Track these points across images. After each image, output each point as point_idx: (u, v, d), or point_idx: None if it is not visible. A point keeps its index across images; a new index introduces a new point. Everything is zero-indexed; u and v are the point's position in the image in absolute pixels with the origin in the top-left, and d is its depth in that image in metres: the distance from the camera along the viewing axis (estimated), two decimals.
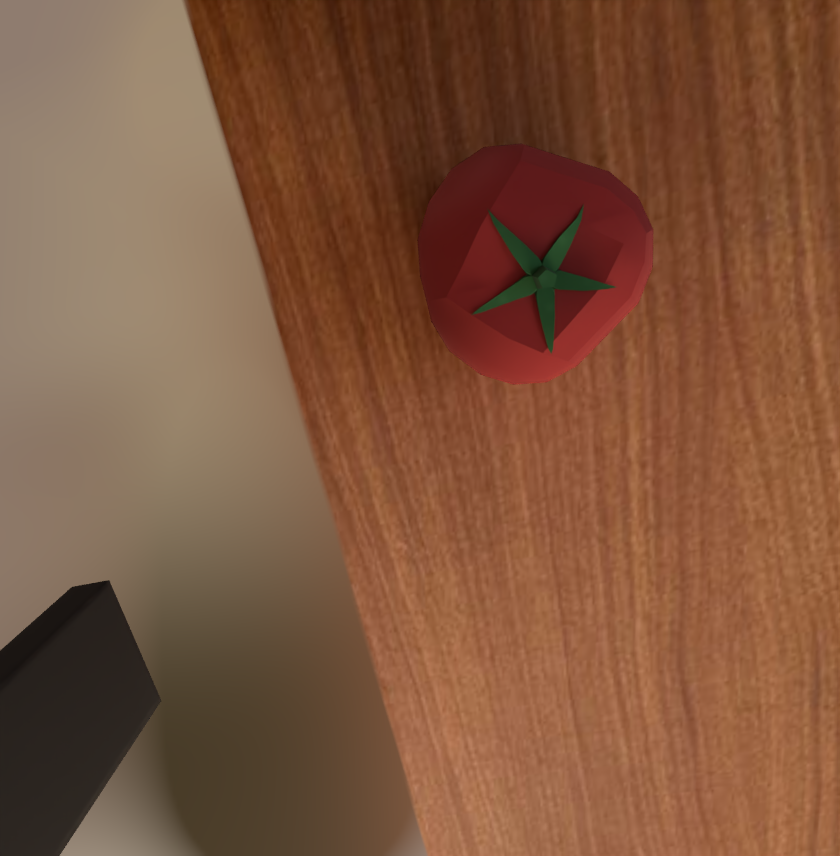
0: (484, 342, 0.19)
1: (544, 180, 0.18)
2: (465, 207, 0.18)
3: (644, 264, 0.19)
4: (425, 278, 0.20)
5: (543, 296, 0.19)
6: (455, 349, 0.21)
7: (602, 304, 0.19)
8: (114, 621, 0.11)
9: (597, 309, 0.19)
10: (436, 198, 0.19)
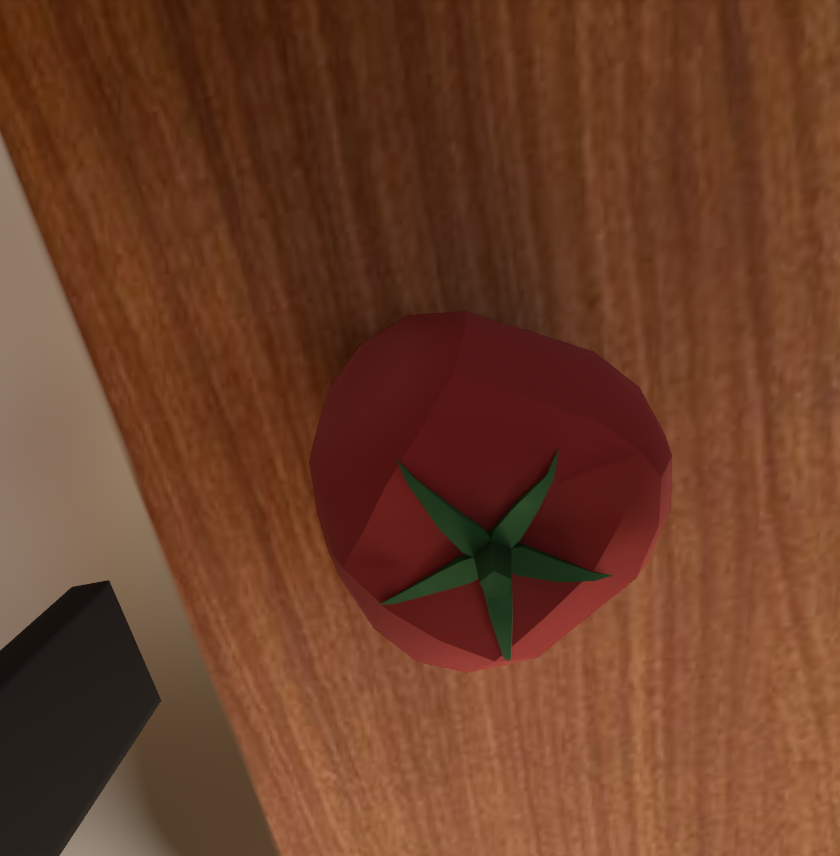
0: (404, 635, 0.12)
1: (493, 409, 0.11)
2: (363, 446, 0.11)
3: (658, 527, 0.12)
4: (319, 515, 0.13)
5: None
6: (367, 618, 0.13)
7: (590, 593, 0.11)
8: (114, 620, 0.11)
9: (581, 600, 0.12)
10: (327, 408, 0.12)
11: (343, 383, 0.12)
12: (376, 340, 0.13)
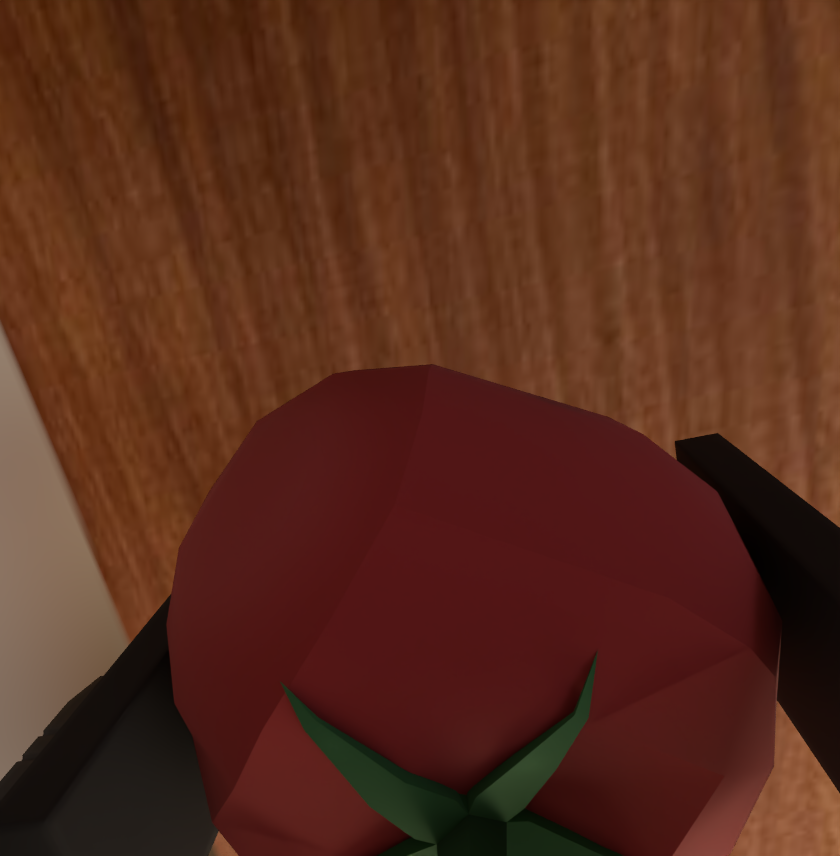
0: None
1: (469, 579, 0.06)
2: (227, 640, 0.06)
3: (771, 766, 0.06)
4: None
5: None
6: None
7: None
8: None
9: None
10: (187, 542, 0.07)
11: (213, 500, 0.07)
12: (278, 418, 0.08)
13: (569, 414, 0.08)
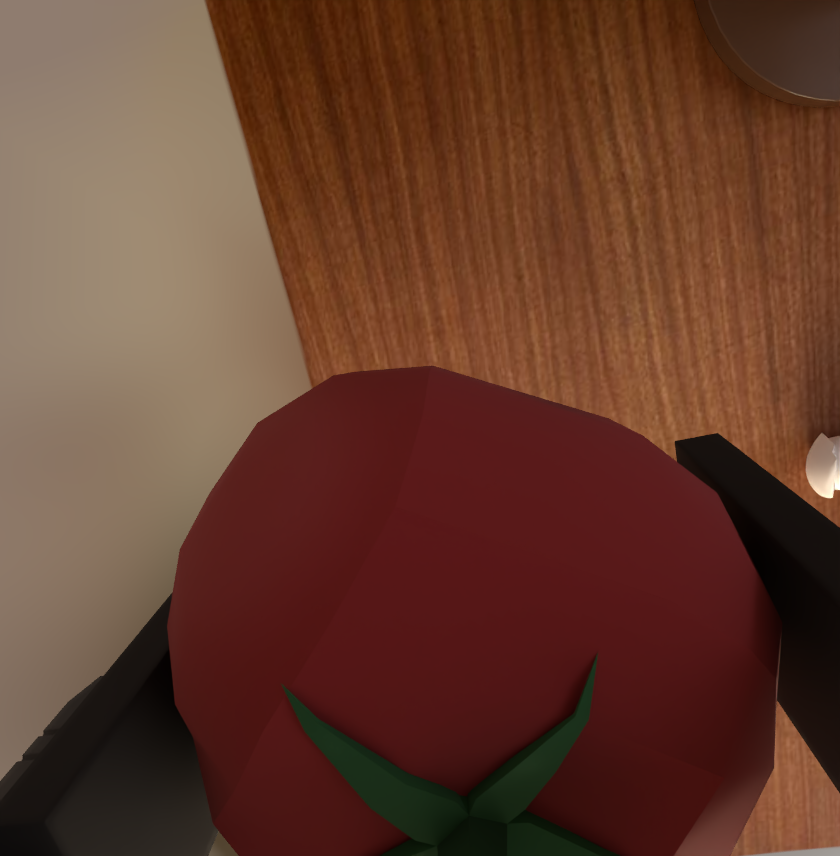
0: None
1: (470, 580, 0.06)
2: (228, 642, 0.06)
3: (770, 767, 0.06)
4: None
5: None
6: None
7: None
8: None
9: None
10: (187, 544, 0.07)
11: (213, 502, 0.07)
12: (278, 420, 0.08)
13: (569, 416, 0.08)
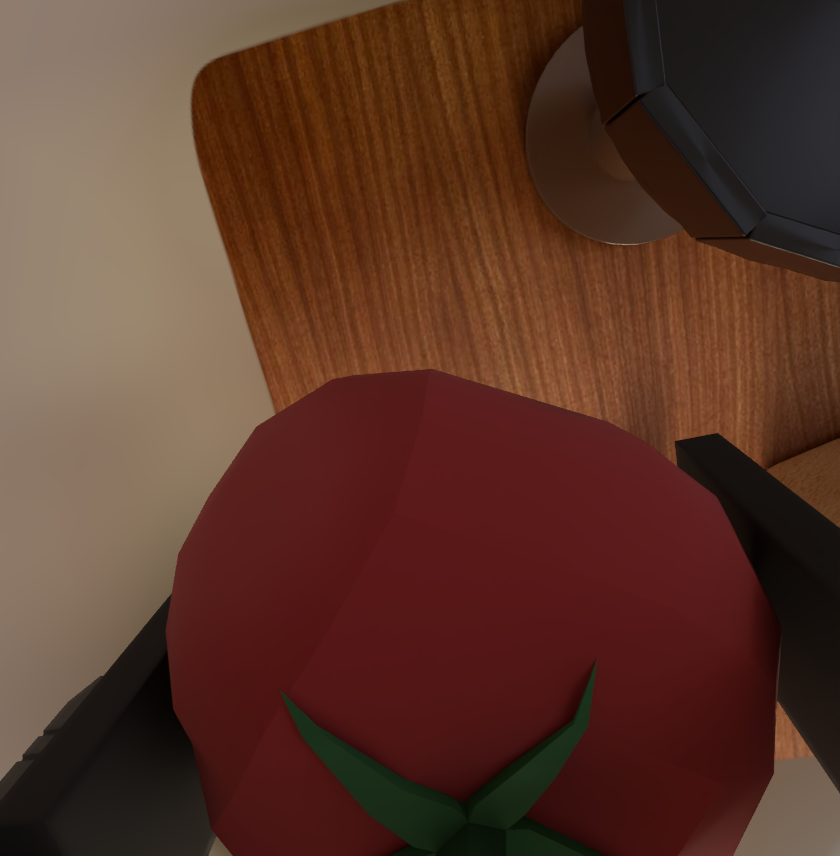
0: None
1: (469, 586, 0.06)
2: (226, 648, 0.06)
3: None
4: None
5: None
6: None
7: None
8: None
9: None
10: (186, 548, 0.07)
11: (212, 506, 0.07)
12: (277, 424, 0.08)
13: (569, 420, 0.08)
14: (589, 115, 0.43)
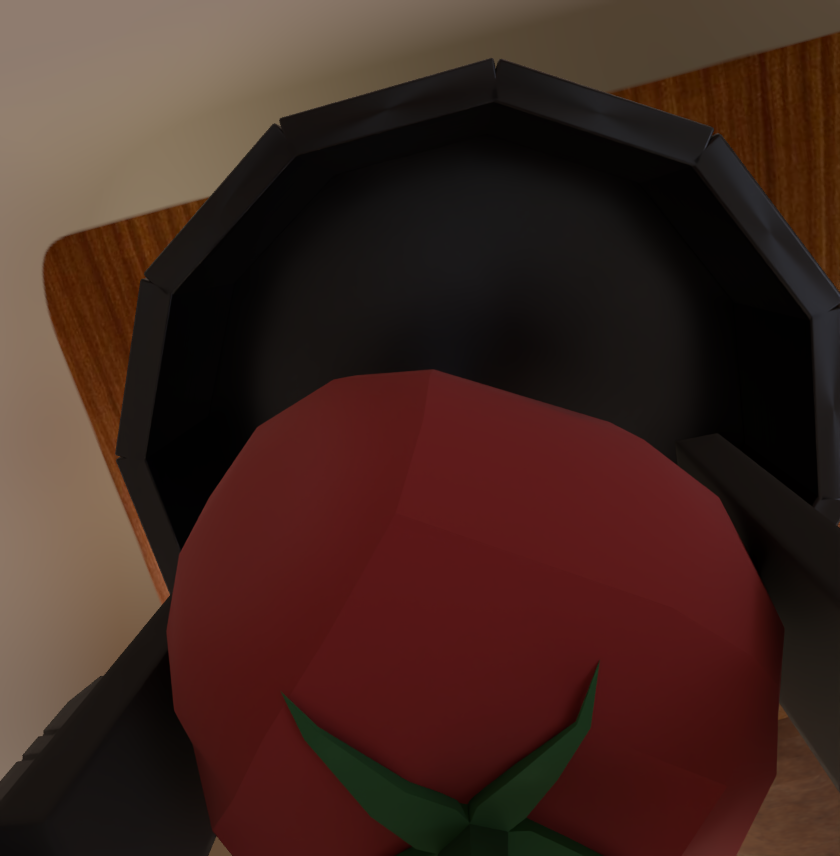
0: None
1: (472, 588, 0.05)
2: (227, 649, 0.06)
3: None
4: None
5: None
6: None
7: None
8: None
9: None
10: (187, 549, 0.07)
11: (213, 507, 0.07)
12: (278, 424, 0.08)
13: (570, 420, 0.08)
14: None
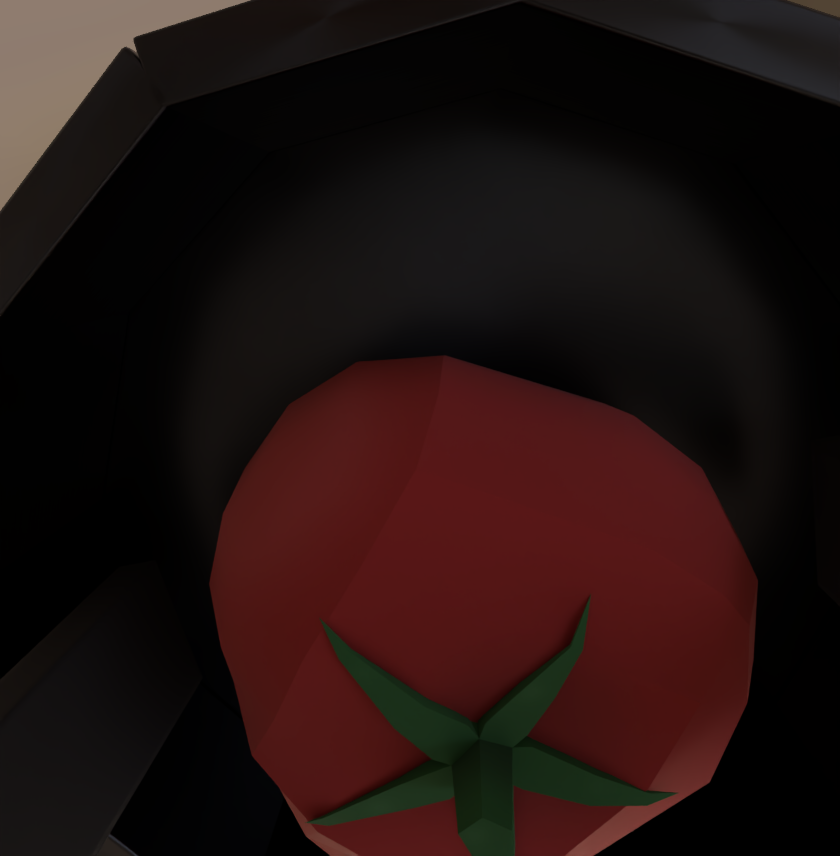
0: None
1: (481, 531, 0.06)
2: (271, 586, 0.07)
3: (745, 704, 0.07)
4: None
5: None
6: None
7: (637, 811, 0.07)
8: (161, 598, 0.11)
9: (624, 820, 0.07)
10: (230, 508, 0.08)
11: (253, 471, 0.08)
12: (309, 400, 0.08)
13: (568, 397, 0.09)
14: None
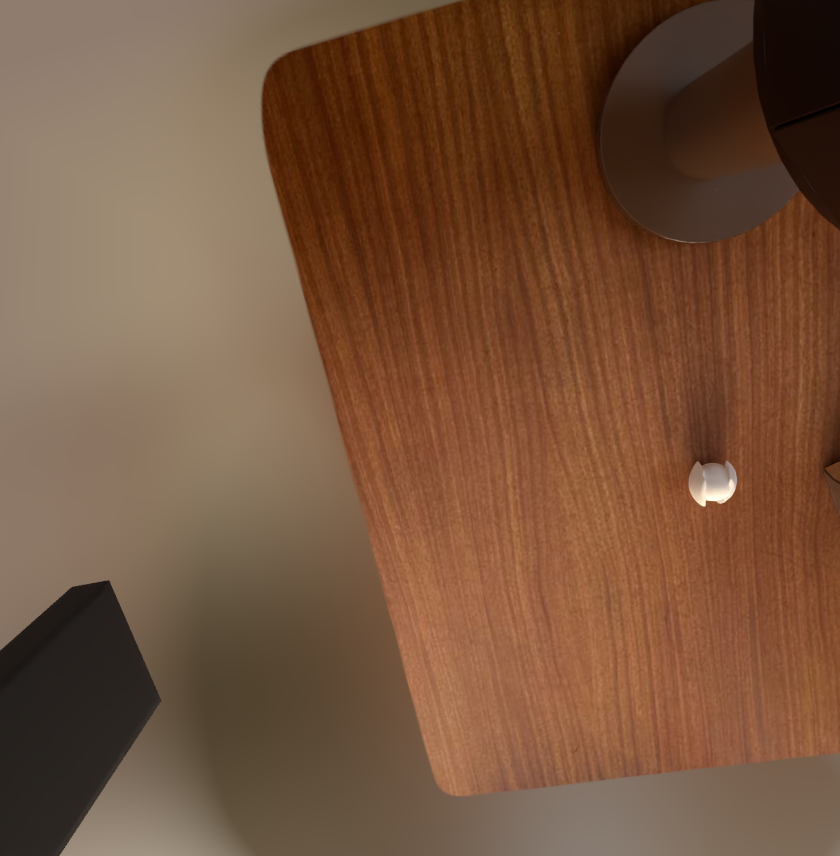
0: None
1: None
2: None
3: None
4: None
5: None
6: None
7: None
8: (114, 621, 0.11)
9: None
10: None
11: None
12: None
13: None
14: (665, 113, 0.43)
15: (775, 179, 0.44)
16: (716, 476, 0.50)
